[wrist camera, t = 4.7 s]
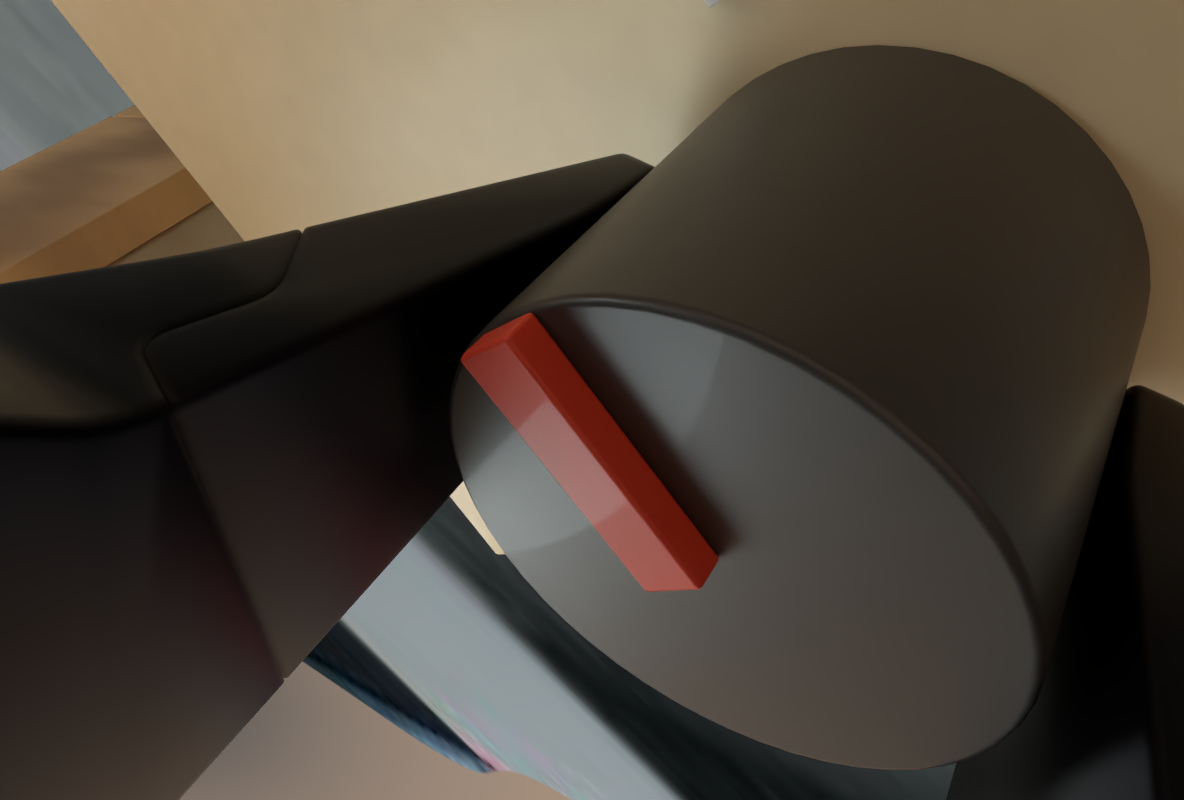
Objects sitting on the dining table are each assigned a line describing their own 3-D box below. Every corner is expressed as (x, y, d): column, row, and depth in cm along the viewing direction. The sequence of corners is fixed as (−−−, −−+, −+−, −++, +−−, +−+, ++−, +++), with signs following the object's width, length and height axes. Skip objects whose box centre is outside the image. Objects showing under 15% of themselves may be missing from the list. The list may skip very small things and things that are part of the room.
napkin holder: (296, 104, 18) (-499, 558, 10) (384, 306, 21) (-182, 772, 13) (139, 101, 21) (-556, 446, 14) (234, 276, 24) (-291, 639, 17)
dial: (1241, 408, 7) (1172, 868, 5) (811, 477, 11) (645, 769, 8) (999, -78, 6) (748, 212, 4) (601, 174, 9) (332, 411, 7)
